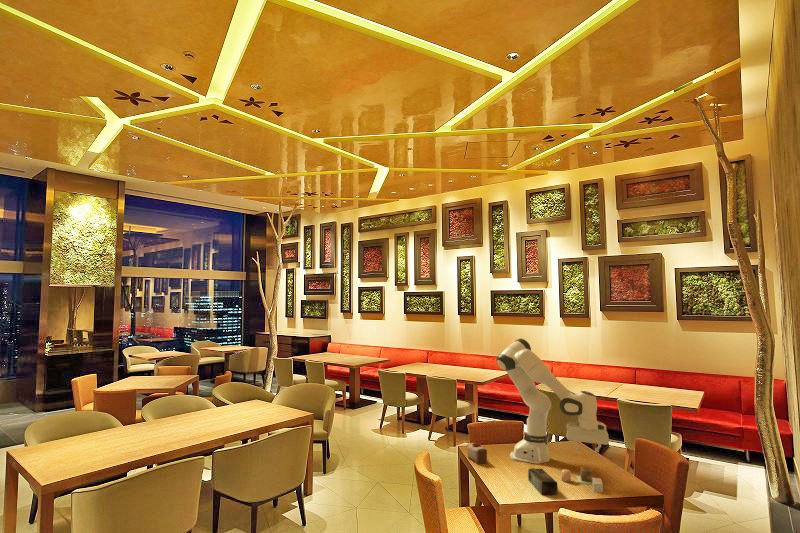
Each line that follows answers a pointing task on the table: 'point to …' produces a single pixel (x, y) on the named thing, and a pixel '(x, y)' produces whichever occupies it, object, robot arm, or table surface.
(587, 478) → the walnut cube
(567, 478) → the brown egg
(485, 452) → the grey canister red cap
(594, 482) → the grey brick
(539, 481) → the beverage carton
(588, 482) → the green tile
